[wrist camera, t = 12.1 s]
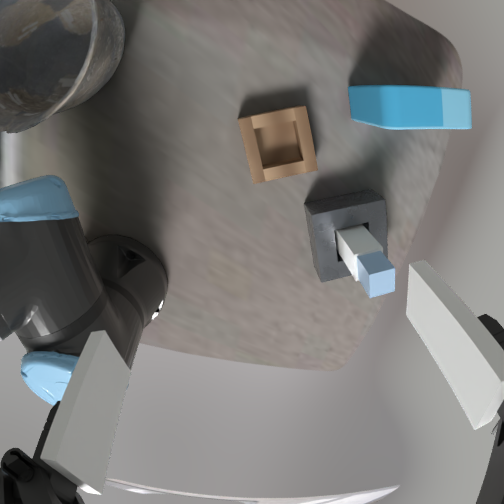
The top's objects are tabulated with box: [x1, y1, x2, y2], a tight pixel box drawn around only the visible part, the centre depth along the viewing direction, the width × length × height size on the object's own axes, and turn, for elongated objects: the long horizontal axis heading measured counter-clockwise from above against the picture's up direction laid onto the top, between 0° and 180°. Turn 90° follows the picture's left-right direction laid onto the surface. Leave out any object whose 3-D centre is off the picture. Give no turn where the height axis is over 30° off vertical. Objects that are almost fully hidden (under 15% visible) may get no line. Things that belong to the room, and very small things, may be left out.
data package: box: [348, 85, 472, 130], centre depth 31 cm, size 12×4×12 cm, turn 99°
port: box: [304, 189, 388, 282], centre depth 43 cm, size 10×10×5 cm
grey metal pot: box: [0, 0, 125, 133], centre depth 25 cm, size 18×18×15 cm
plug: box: [334, 224, 395, 298], centre depth 38 cm, size 4×4×13 cm
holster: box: [238, 105, 318, 184], centre depth 38 cm, size 8×8×3 cm
